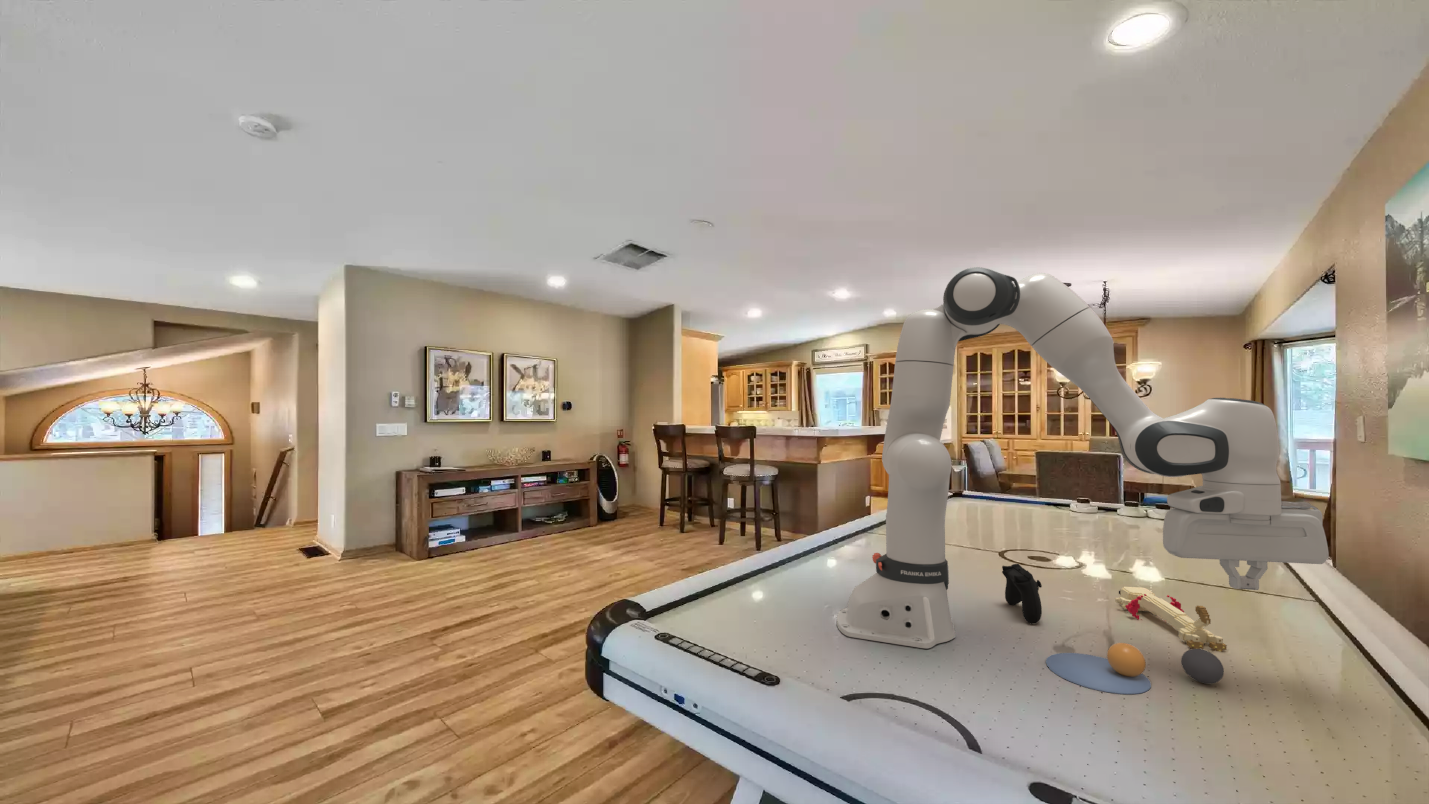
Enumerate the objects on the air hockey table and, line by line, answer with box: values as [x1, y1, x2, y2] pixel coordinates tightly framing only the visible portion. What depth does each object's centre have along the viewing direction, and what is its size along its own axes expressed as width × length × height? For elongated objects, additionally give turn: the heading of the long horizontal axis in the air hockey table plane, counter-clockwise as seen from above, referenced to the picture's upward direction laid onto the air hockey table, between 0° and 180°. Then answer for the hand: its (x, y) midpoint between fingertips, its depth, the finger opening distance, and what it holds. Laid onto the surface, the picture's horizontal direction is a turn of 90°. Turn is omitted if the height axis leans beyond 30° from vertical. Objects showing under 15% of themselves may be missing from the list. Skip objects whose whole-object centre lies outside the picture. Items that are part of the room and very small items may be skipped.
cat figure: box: [1114, 586, 1228, 652], centre depth 108 cm, size 10×9×25 cm
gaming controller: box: [1001, 563, 1043, 625], centre depth 115 cm, size 14×6×10 cm, turn 168°
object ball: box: [1106, 642, 1147, 677], centre depth 87 cm, size 5×5×5 cm
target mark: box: [1045, 652, 1152, 695], centre depth 88 cm, size 14×14×1 cm
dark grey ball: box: [1180, 648, 1225, 685], centre depth 85 cm, size 5×5×5 cm
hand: (1243, 588), depth 84 cm, fingers closed
